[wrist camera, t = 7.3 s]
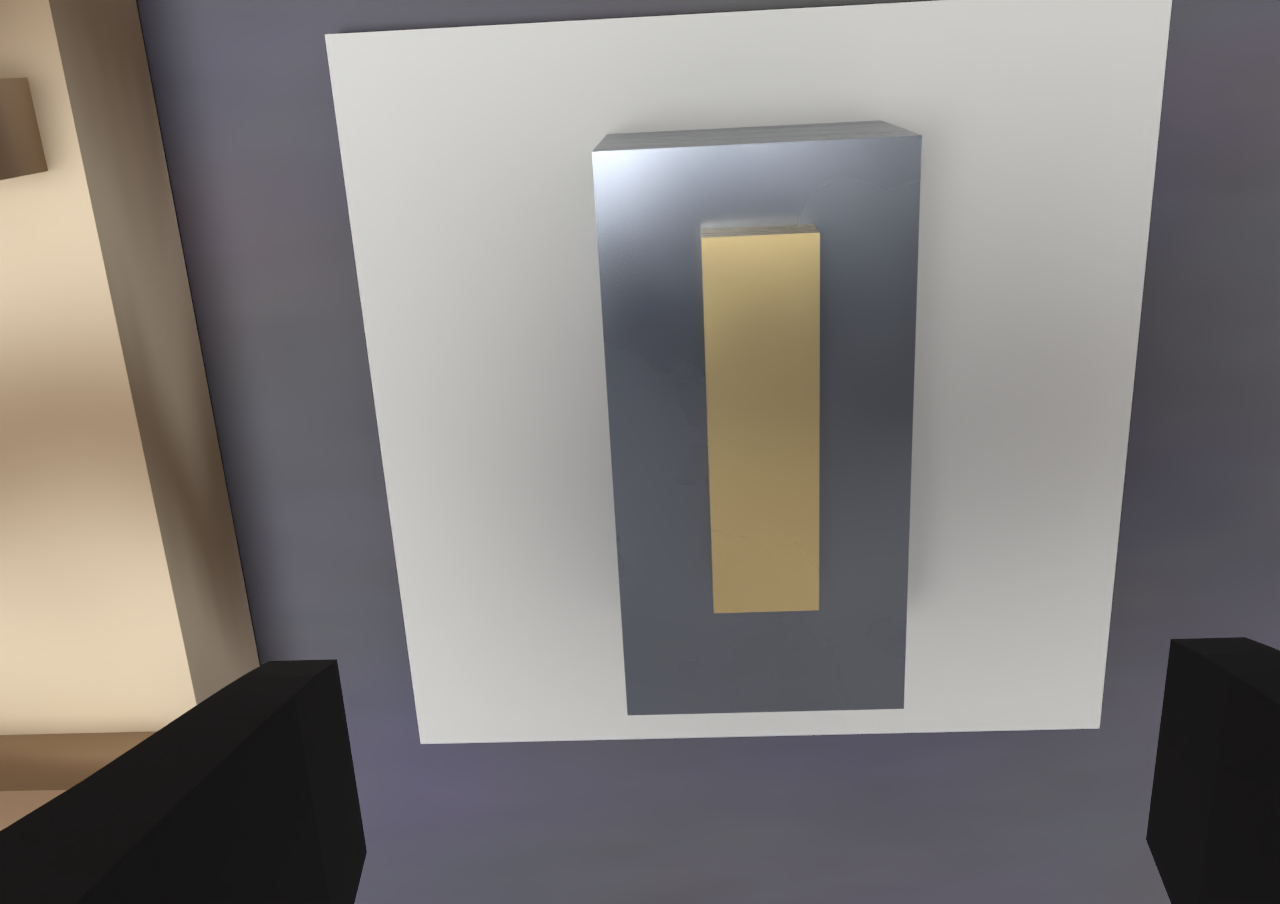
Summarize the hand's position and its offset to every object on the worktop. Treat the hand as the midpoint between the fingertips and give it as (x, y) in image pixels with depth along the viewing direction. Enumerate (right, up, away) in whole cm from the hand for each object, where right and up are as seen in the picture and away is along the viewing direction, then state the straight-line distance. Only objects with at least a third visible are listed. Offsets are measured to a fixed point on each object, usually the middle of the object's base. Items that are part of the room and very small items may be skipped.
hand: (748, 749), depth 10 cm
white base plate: (+1, +3, +9) cm, 9 cm away
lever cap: (+1, +4, +8) cm, 9 cm away
